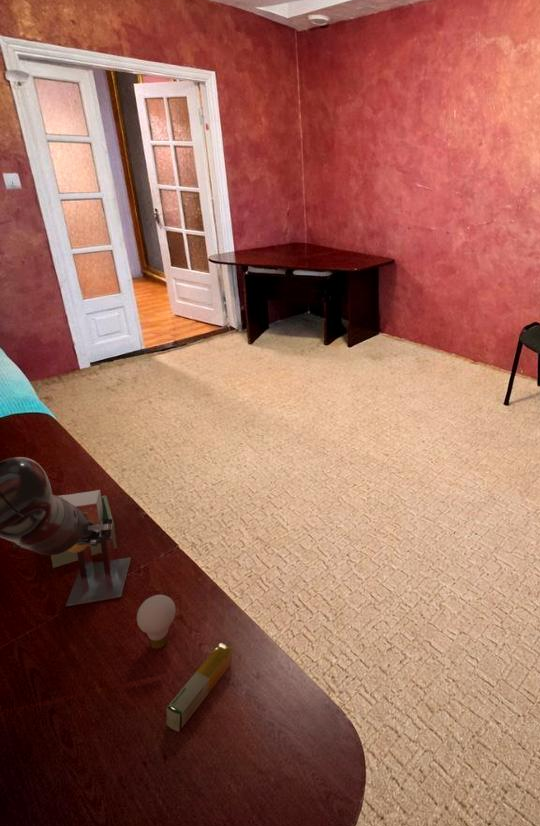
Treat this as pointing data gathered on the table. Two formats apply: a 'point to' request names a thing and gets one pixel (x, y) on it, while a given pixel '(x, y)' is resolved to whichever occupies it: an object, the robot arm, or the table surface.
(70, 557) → the grey-green open bin
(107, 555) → the grey metal angular piece
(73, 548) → the tap lever
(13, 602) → the table surface
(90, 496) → the small box
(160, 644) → the light bulb
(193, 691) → the medication box
